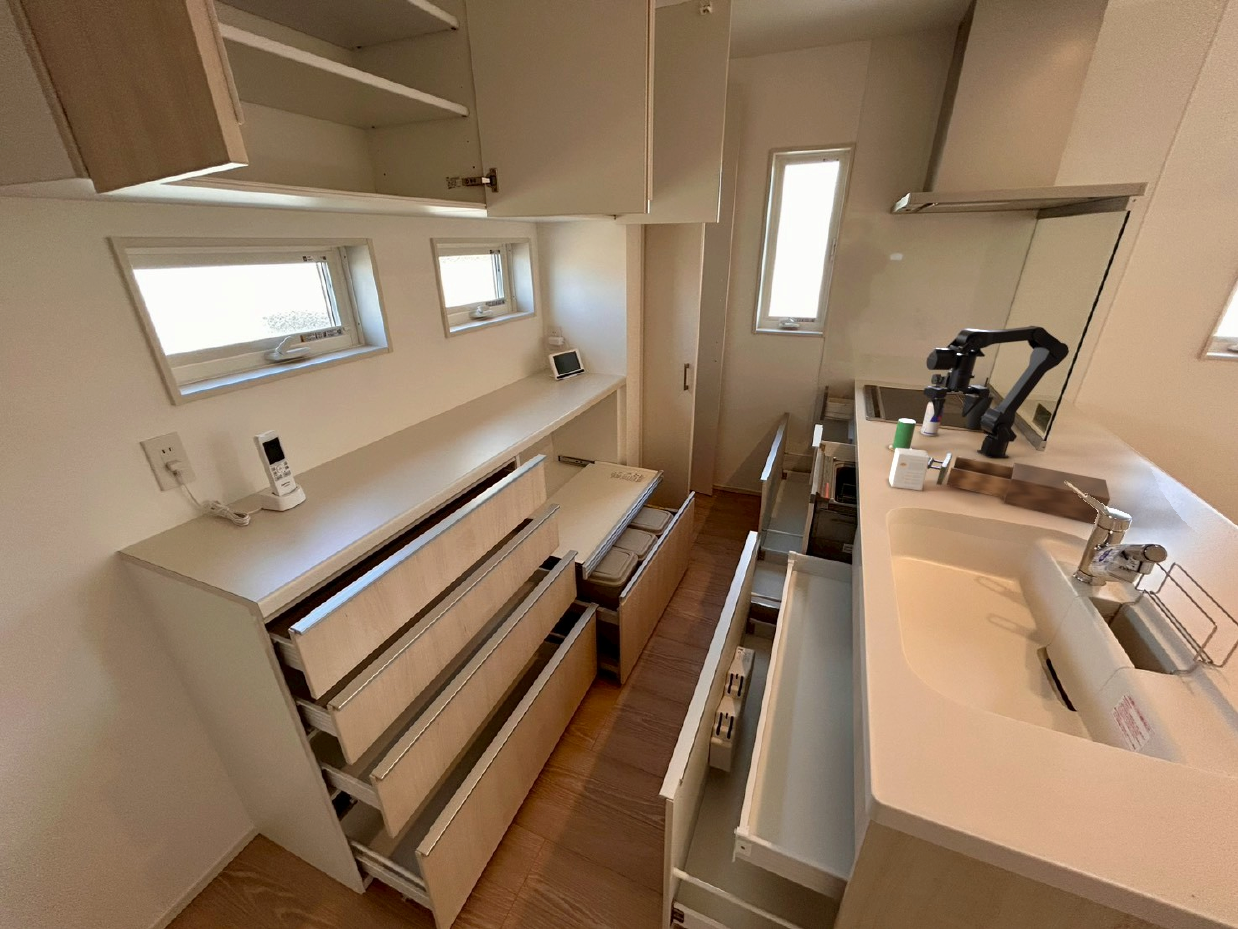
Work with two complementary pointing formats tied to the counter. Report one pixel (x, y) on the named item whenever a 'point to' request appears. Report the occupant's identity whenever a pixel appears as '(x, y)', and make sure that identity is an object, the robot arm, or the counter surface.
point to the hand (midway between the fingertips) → (949, 417)
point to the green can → (904, 433)
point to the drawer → (975, 475)
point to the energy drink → (931, 421)
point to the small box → (909, 468)
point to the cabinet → (1055, 492)
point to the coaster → (892, 448)
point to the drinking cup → (979, 411)
